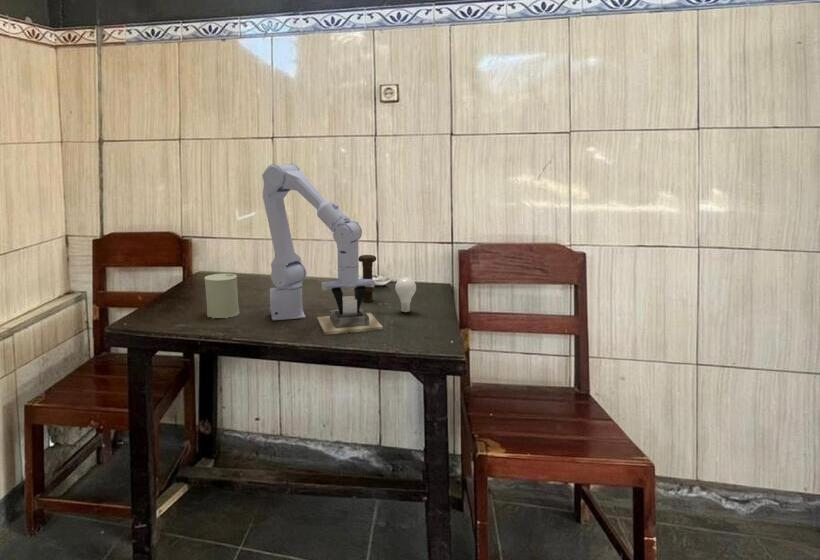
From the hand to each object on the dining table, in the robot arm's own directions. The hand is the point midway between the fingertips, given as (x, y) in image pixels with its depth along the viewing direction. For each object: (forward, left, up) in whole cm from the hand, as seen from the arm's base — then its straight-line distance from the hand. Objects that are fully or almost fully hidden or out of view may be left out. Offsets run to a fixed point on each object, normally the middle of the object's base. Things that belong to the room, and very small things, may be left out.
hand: (348, 312), depth 152 cm
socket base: (0, 0, -3) cm, 3 cm away
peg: (0, 0, -2) cm, 2 cm away
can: (-34, +20, -4) cm, 40 cm away
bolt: (+11, +23, -4) cm, 26 cm away
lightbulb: (+19, +7, -4) cm, 21 cm away
